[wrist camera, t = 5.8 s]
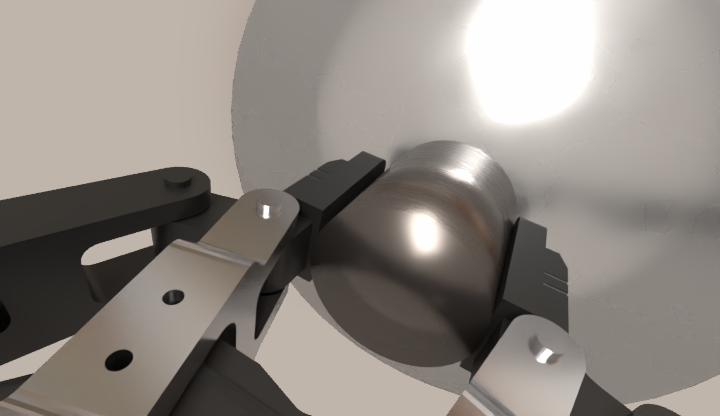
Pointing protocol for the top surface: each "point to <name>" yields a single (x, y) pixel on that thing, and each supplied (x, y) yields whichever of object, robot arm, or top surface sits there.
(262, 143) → the cover
